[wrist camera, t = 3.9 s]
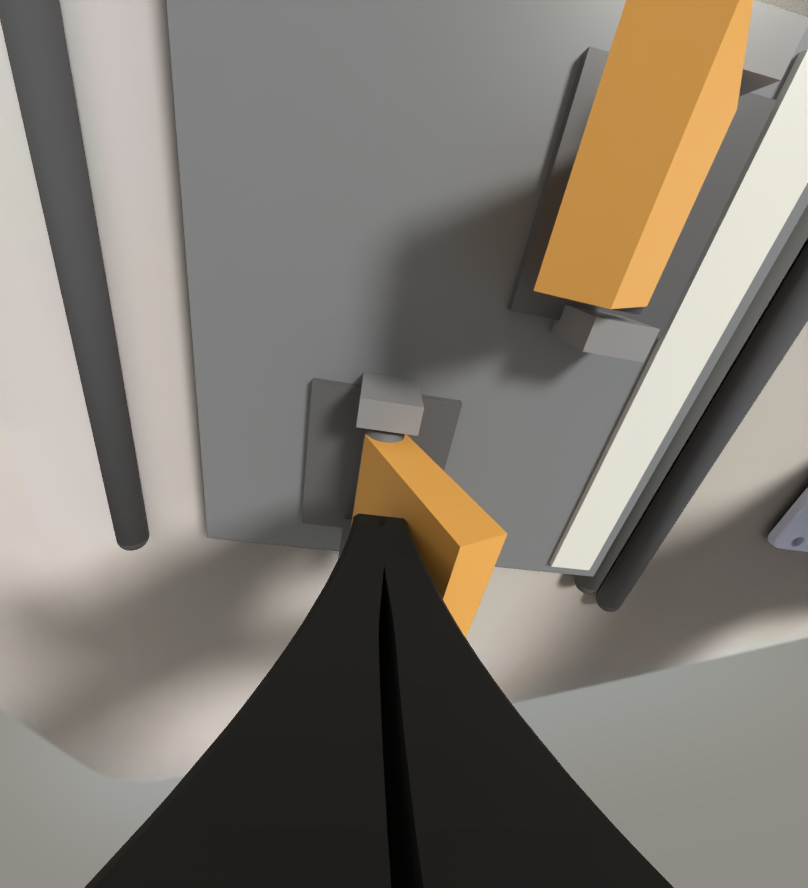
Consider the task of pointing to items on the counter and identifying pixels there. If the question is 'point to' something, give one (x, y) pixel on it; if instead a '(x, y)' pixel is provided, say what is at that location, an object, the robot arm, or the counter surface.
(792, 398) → the counter surface
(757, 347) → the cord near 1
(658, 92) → the breaker lever
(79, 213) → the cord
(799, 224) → the dark long thin strip
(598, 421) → the breaker panel
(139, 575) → the counter surface
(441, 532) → the breaker lever
